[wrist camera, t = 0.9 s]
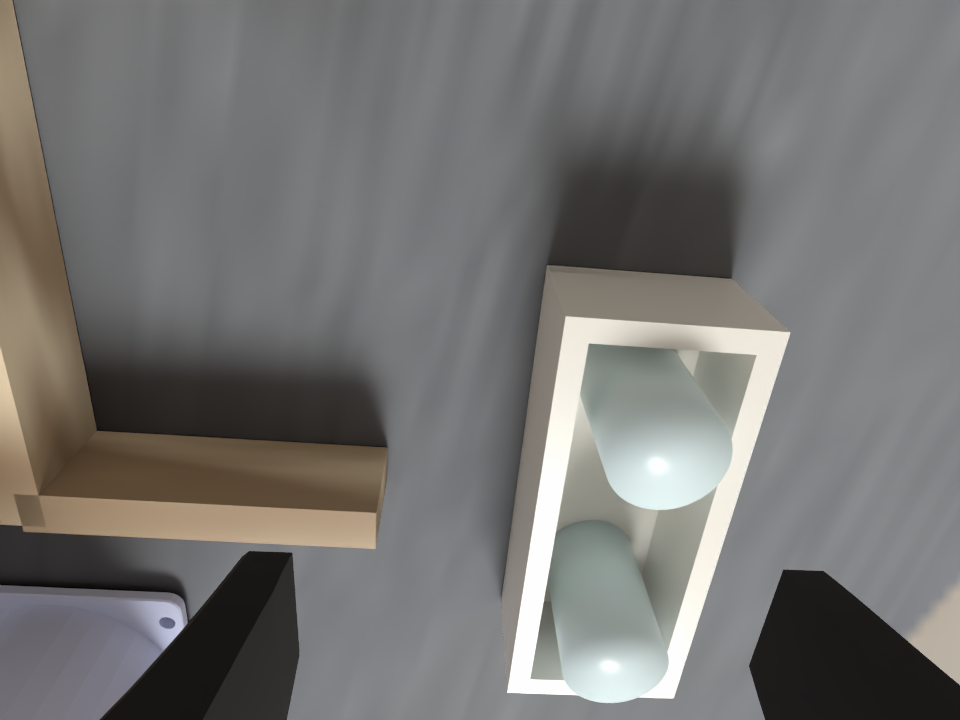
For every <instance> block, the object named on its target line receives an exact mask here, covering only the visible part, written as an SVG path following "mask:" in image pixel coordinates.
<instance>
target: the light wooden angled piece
mask: <svg viewBox="0 0 960 720" xmlns="http://www.w3.org/2000/svg"><path fill="white" fill-rule="evenodd" d="M387 455H388V448H386V447H369V446H351V445H334V444H317V443H299V442H282V441H265V440H247V439H230V438H213V437H195V436H178V435H161V434H143V433H126V432H109V431H97V428H96V423H95V418H94V413H93V408H92V403H91V398H90V393H89V388H88V382H87V377H86V372H85V367H84V362H83V357H82V352H81V347H80V342H79V337H78V332H77V326H76V321H75V316H74V311H73V306H72V301H71V296H70V291H69V286H68V281H67V276H66V271H65V265H64V260H63V255H62V250H61V245H60V240H59V235H58V230H57V225H56V220H55V215H54V209H53V204H52V199H51V194H50V189H49V184H48V179H47V174H46V169H45V164H44V159H43V153H42V148H41V143H40V138H39V133H38V128H37V123H36V118H35V113H34V108H33V103H32V97H31V92H30V87H29V82H28V77H27V72H26V67H25V62H24V57H23V52H22V47H21V41H20V36H19V31H18V26H17V21H16V16H15V11H14V6H13V1H12V0H0V525H19V526H22V527H23V531H24V532H39V533H60V534H80V535H101V536H122V537H142V538H163V539H184V540H204V541H225V542H246V543H266V544H287V545H308V546H329V547H349V548H370V549H376V543H377V536H378V530H379V524H380V518H381V512H382V506H383V500H384V494H385V488H386V482H387Z"/></svg>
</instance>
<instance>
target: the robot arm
mask: <svg viewBox="0 0 960 720" xmlns="http://www.w3.org/2000/svg"><path fill="white" fill-rule="evenodd" d="M167 617H168V618H167ZM169 618H171V619H169ZM298 659H299V641H298V627H297V613H296V599H295V585H294V571H293V557H292V553H285V552H256V551H249V552H248V553H246V554H245V555H244V556H242V557H241V559H240V560H239V561H238V562H237V564H236V565H235V566H234V568H233V569H232V570H231V571H230V573H229V574H228V575H227V576H226V578H225V579H224V580H223V581H222V583H221V584H220V585H219V586H218V588H217V589H216V590H215V591H214V592H213V594H212V595H211V596H210V597H209V599H208V600H207V601H206V602H205V603H204V605H203V606H202V607H201V608H200V609H199V611H198V612H197V613H196V614H195V615H194V616H193V618H192V619H191V620H190V621H189V622H188V621H187V614H186V607H185V603H184V601H183V599H182V598H181V597H180V596H178V595H176V594H174V593H168V592H145V591H122V590H99V589H76V588H53V587H30V586H7V585H0V720H287V715H288V710H289V705H290V700H291V695H292V690H293V685H294V680H295V674H296V669H297V664H298ZM749 667H750V671H751V674H752V677H753V681H754V684H755V688H756V691H757V694H758V698H759V701H760V705H761V708H762V711H763V714H764V717H765V720H960V685H959V684H958V683H956V682H955V681H954V680H953V679H952V678H950V677H949V676H948V675H947V674H945V673H944V672H943V671H942V670H941V669H940V668H938V667H937V666H936V665H935V664H934V663H933V662H931V661H930V660H929V659H928V658H927V657H925V656H924V655H923V654H922V653H921V652H920V651H918V650H917V649H916V648H915V647H914V646H912V645H911V644H910V643H909V642H908V641H907V640H905V639H904V638H903V637H902V636H901V635H900V634H898V633H897V632H896V631H895V630H894V629H893V628H891V627H890V626H889V625H888V624H887V623H886V622H884V621H883V620H882V619H881V618H880V617H879V616H877V615H876V614H875V613H874V612H873V611H871V610H870V609H869V608H868V607H867V606H866V605H864V604H863V603H862V602H861V601H860V600H858V599H857V598H856V597H855V596H854V595H852V594H851V593H850V592H849V591H848V590H846V589H845V588H844V587H843V586H842V585H840V584H839V583H838V582H837V581H835V580H834V579H833V578H832V577H830V576H829V575H828V574H826V573H825V572H824V571H805V570H783V572H782V575H781V578H780V581H779V583H778V586H777V589H776V592H775V595H774V598H773V600H772V603H771V606H770V609H769V612H768V614H767V617H766V620H765V623H764V626H763V628H762V631H761V634H760V637H759V640H758V642H757V645H756V648H755V651H754V654H753V656H752V659H751V662H750V665H749Z"/></svg>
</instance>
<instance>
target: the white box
mask: <svg viewBox="0 0 960 720" xmlns="http://www.w3.org/2000/svg"><path fill="white" fill-rule="evenodd" d="M789 336H790V331H789V330H788V329H786V328H785V327H784V326H783V325H782V324H781V323H780V322H779V321H778V320H777V319H776V318H774V317H773V316H772V315H771V314H770V313H769V312H768V311H767V310H766V309H765V308H764V307H762V306H761V305H760V304H759V303H758V302H757V301H756V300H755V299H754V298H753V297H752V296H750V295H749V294H748V293H747V292H746V291H745V290H744V289H743V288H742V287H741V286H740V285H738V284H737V283H736V282H735V281H734V280H733V279H726V278H713V277H700V276H687V275H673V274H660V273H647V272H634V271H620V270H607V269H594V268H581V267H567V266H554V265H547V267H546V275H545V282H544V289H543V297H542V304H541V311H540V319H539V326H538V333H537V341H536V348H535V355H534V363H533V370H532V377H531V385H530V392H529V399H528V407H527V414H526V421H525V429H524V436H523V443H522V451H521V458H520V465H519V473H518V480H517V487H516V495H515V502H514V509H513V517H512V524H511V531H510V539H509V546H508V553H507V561H506V568H505V575H504V583H503V590H502V597H501V609H502V623H503V637H504V652H505V666H506V680H507V693H534V694H562V695H579V696H581V697H583V698H585V699H588V700H591V701H595V702H602V703H616V702H623V701H628V700H632V699H635V698H637V697H646V698H674V696H675V692H676V689H677V686H678V683H679V680H680V677H681V674H682V670H683V667H684V664H685V661H686V658H687V655H688V652H689V649H690V645H691V642H692V639H693V636H694V633H695V630H696V627H697V624H698V620H699V617H700V614H701V611H702V608H703V605H704V602H705V598H706V595H707V592H708V589H709V586H710V583H711V580H712V577H713V573H714V570H715V567H716V564H717V561H718V558H719V555H720V552H721V548H722V545H723V542H724V539H725V536H726V533H727V530H728V527H729V523H730V520H731V517H732V514H733V511H734V508H735V505H736V501H737V498H738V495H739V492H740V489H741V486H742V483H743V480H744V476H745V473H746V470H747V467H748V464H749V461H750V458H751V455H752V451H753V448H754V445H755V442H756V439H757V436H758V433H759V429H760V426H761V423H762V420H763V417H764V414H765V411H766V408H767V404H768V401H769V398H770V395H771V392H772V389H773V386H774V383H775V379H776V376H777V373H778V370H779V367H780V364H781V361H782V357H783V354H784V351H785V348H786V345H787V342H788V339H789Z"/></svg>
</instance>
